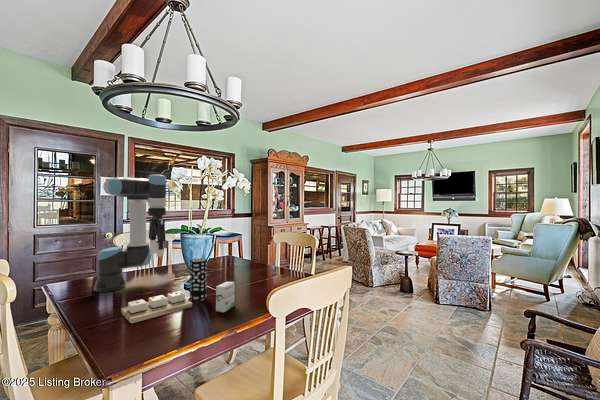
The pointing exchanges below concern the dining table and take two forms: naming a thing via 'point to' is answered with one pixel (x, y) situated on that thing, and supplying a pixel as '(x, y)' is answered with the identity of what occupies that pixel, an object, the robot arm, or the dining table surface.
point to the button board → (155, 311)
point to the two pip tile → (157, 301)
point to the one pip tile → (137, 306)
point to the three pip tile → (176, 296)
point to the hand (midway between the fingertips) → (156, 254)
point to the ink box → (225, 296)
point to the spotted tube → (198, 279)
